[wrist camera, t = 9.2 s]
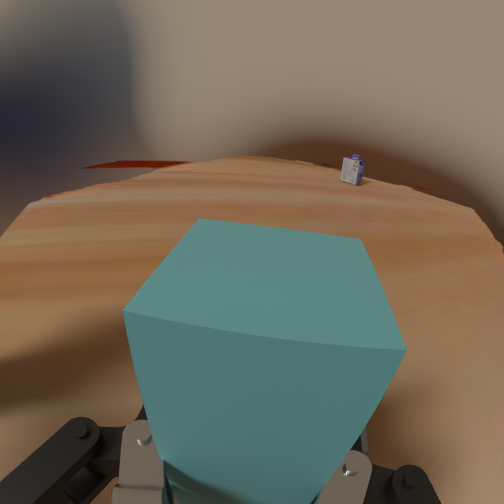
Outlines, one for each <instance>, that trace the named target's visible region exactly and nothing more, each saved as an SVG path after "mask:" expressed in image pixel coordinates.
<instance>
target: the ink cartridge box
mask: <svg viewBox="0 0 504 504" xmlns="http://www.w3.org/2000/svg"><path fill="white" fill-rule="evenodd" d="M354 156H358V157H354ZM358 158H359V155H356V154H354V155H353V156H352V158H348V157H344V161H343V166H342V172H341V178H340V180H341V181H344V182H347V183H350V184H354V185H361V182H362V176H363V170H364V164H365V162H364V161H361V160H358Z"/></svg>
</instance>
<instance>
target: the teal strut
mask: <svg viewBox="0 0 504 504" xmlns="http://www.w3.org/2000/svg"><path fill="white" fill-rule="evenodd" d="M123 316H124V321H125V327H126V332H127V337H128V342H129V347H130V351H131V356H132V361H133V365H134V369H135V373H136V378H137V382H138V386H139V390H140V393H141V397H142V401H143V405H144V408H145V412H146V415H147V419H148V422H149V425H150V429H151V432H152V435H153V438H154V441H155V445H156V448H157V451H158V454H159V456H160V459H162V460H164V463H165V466H166V476H167V479H168V481H169V484H172V486H173V489H174V497H175V499H176V502H177V504H310V503H311V502H312V501H313V499H314V498H315V497H316V496H317V494H318V493H319V491H320V489H321V488H322V487H323V485H324V484H326V483H327V482H328V480H329V479H330V478H331V476H332V475H333V473H334V472H335V471H336V469H337V468H338V467H339V465H340V464H341V462H342V461H343V460H344V458H345V457H346V455H347V454H348V452H349V451H350V449H351V448H352V446H353V445H354V443H355V442H356V440H357V439H358V437H359V436H360V434H361V432H362V431H363V429H364V428H365V426H366V424H367V423H368V421H369V420H370V418H371V416H372V414H373V413H374V411H375V409H376V408H377V406H378V404H379V402H380V401H381V399H382V397H383V395H384V394H385V392H386V390H387V388H388V386H389V384H390V382H391V381H392V379H393V377H394V375H395V373H396V371H397V369H398V367H399V365H400V363H401V361H402V359H403V357H404V355H405V353H406V351H407V349H406V346H405V344H404V341H403V338H402V335H401V333H400V330H399V328H398V325H397V322H396V320H395V317H394V315H393V312H392V310H391V307H390V305H389V302H388V300H387V297H386V295H385V292H384V290H383V288H382V285H381V283H380V281H379V278H378V276H377V274H376V271H375V269H374V267H373V265H372V262H371V260H370V258H369V256H368V254H367V251H366V249H365V247H364V245H363V243H362V241H361V239H355V238H349V237H342V236H334V235H327V234H320V233H313V232H306V231H298V230H291V229H283V228H275V227H267V226H259V225H251V224H243V223H235V222H227V221H218V220H210V219H201V218H200V219H199V220H198V221H197V222H196V223H195V224H194V225H193V226H192V228H191V229H190V230H189V231H188V232H187V233H186V234H185V236H184V237H183V238H182V239H181V240H180V241H179V243H178V244H177V245H176V246H175V247H174V248H173V250H172V251H171V252H170V253H169V254H168V255H167V257H166V258H165V259H164V260H163V261H162V263H161V264H160V265H159V266H158V267H157V268H156V270H155V271H154V272H153V273H152V274H151V276H150V277H149V278H148V279H147V281H146V282H145V283H144V284H143V285H142V287H141V288H140V289H139V290H138V292H137V293H136V294H135V295H134V297H133V298H132V299H131V300H130V302H129V303H128V304H127V305H126V307H125V308H124V309H123Z"/></svg>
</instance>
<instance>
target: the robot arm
mask: <svg viewBox="0 0 504 504" xmlns="http://www.w3.org/2000/svg"><path fill="white" fill-rule="evenodd" d="M114 477H119V481H118V484H117V485H115V486H114V488H113V493H112V504H174V489H173V486H172V484H169V481H168V479H167V476H166V466H165V463H164V460H162V459H160V456H159V454H158V451H157V448H156V445H155V441H154V438H153V435H152V432H151V429H150V425H149V422H148V419H147V415H146V412H145V408H144V405H143V407H142V409H141V411H140V413H139V415H138V417H137V418H136V419H135V420H134V421H133V422H131V423H130V424H128V425H127V426H124V427H98V425H97V424H96V423H95V422H94V421H93V420H91V419H89V418H86V417H77V418H74V419H71V420H70V421H69V422H67V423H66V424H65V425H64V426H63V427H62V428H61V429H59V430H58V431H57V432H56V433H55V434H54V435H53V436H52V437H50V438H49V439H48V440H47V441H46V442H45V443H44V444H43V445H41V446H40V447H39V448H38V449H37V450H36V451H35V452H34V453H32V454H31V455H30V456H29V457H28V458H27V459H26V460H24V461H23V462H22V463H21V464H20V465H19V466H18V467H17V468H15V469H14V470H13V471H12V472H11V473H10V474H9V475H7V476H6V477H5V478H4V479H3V480H2V481H1V482H0V504H90V503H91V502H92V500H93V499H94V498H95V497H96V496H97V495H98V494H99V493H100V492H101V491H102V490H103V489H104V488H105V487H106V486H107V485H108V484H109V483H110V481H111V480H112V479H113V478H114ZM310 504H441V502H440V500H439V498H438V496H437V494H436V492H435V490H434V488H433V486H432V484H431V483H430V481H429V479H428V477H427V475H426V473H425V472H424V471H423V470H422V469H421V468H420V467H418V466H415V465H404V466H402V467H400V468H399V469H397V470H396V471H395V470H391V469H387V468H383V467H379V466H376V465H374V464H373V463H371V461H370V460H369V458H368V457H367V456H366V455H364V453H363V451H362V443H361V434H360V436H359V437H358V439H357V440H356V442H355V443H354V445H353V446H352V448H351V449H350V451H349V452H348V454H347V455H346V457H345V458H344V460H343V461H342V462H341V464H340V465H339V467H338V468H337V469H336V471H335V472H334V473H333V475H332V476H331V478H330V479H329V480H328V482H327V483H326V484H324V485H323V487H322V488H321V489H320V491H319V493H318V494H317V496H316V497H315V498H314V499H313V501H312V502H311V503H310Z"/></svg>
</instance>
